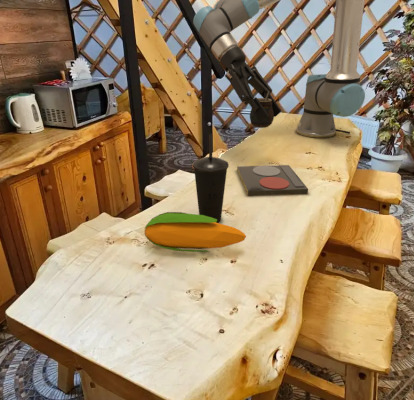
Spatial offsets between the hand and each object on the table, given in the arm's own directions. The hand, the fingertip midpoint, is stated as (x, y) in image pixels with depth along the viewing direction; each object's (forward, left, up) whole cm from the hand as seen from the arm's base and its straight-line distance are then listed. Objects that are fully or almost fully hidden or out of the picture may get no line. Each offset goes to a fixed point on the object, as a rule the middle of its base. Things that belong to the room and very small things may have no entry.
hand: (271, 116), depth 109 cm
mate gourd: (+2, -3, -4) cm, 5 cm away
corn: (+25, +44, -16) cm, 54 cm away
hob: (+2, +12, -16) cm, 20 cm away
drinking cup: (+21, +33, -16) cm, 43 cm away
